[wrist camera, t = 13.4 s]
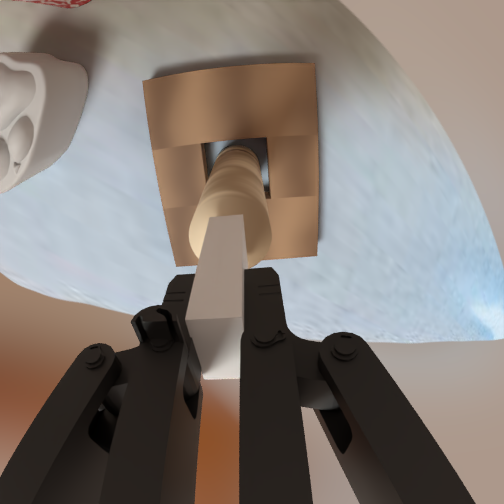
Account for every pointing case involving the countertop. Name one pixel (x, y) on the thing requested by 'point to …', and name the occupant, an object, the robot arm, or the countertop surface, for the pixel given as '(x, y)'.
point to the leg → (235, 201)
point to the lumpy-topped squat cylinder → (37, 112)
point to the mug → (59, 2)
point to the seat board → (238, 127)
